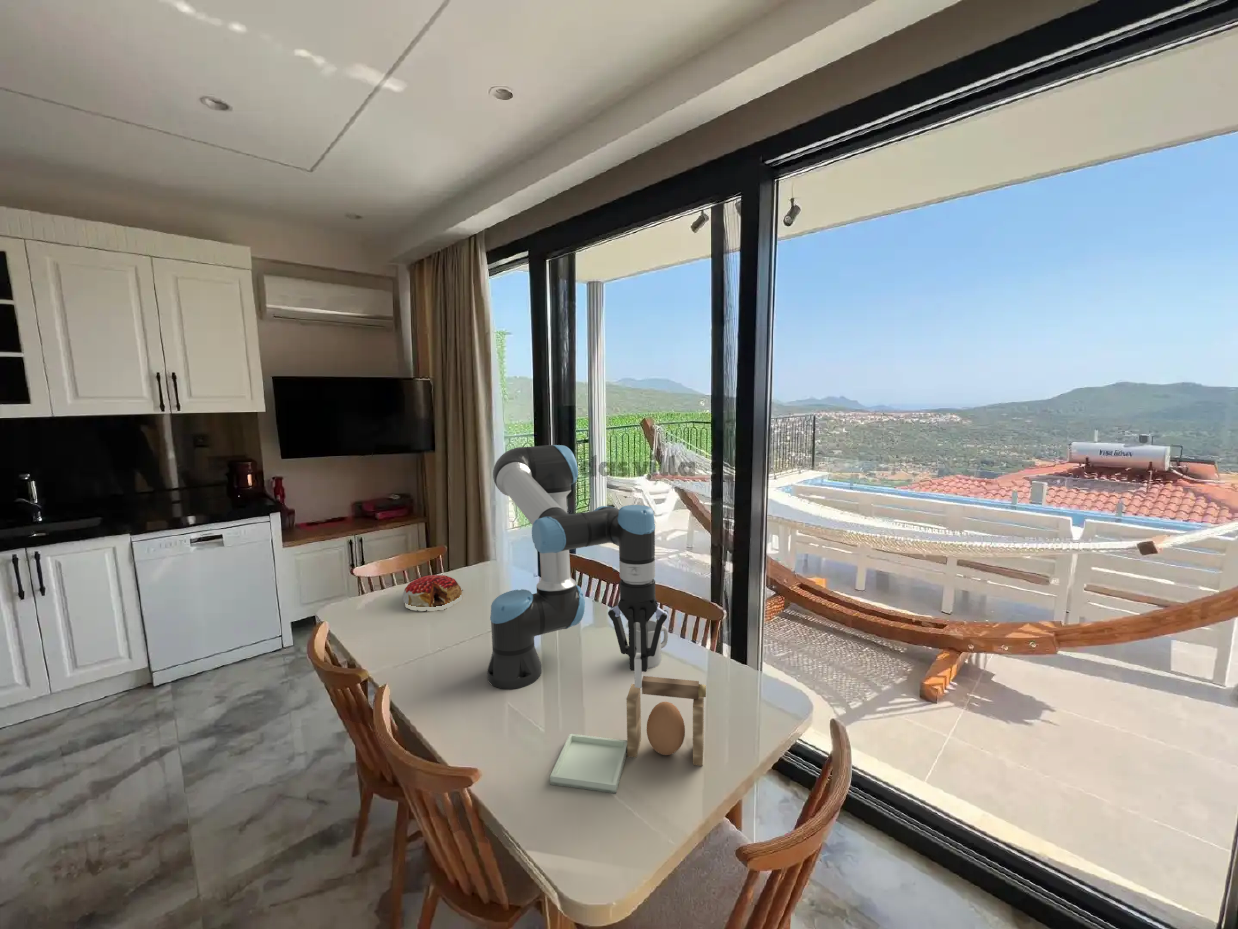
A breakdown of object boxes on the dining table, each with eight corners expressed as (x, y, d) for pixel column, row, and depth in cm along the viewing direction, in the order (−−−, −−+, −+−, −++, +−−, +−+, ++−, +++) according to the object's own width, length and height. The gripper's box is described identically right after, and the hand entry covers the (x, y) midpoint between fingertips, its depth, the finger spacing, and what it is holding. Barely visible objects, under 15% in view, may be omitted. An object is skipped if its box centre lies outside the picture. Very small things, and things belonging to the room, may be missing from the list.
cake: (433, 619, 182) (432, 592, 181) (390, 607, 194) (388, 582, 193) (481, 598, 202) (479, 573, 201) (439, 587, 214) (437, 565, 213)
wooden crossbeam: (641, 694, 108) (641, 681, 108) (643, 688, 111) (643, 675, 110) (705, 700, 106) (705, 687, 105) (705, 694, 108) (706, 681, 108)
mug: (643, 672, 143) (642, 635, 142) (626, 659, 150) (626, 624, 149) (676, 659, 150) (676, 624, 149) (658, 648, 157) (658, 614, 156)
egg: (691, 760, 107) (691, 711, 106) (654, 769, 105) (654, 718, 104) (676, 736, 115) (675, 690, 114) (641, 743, 113) (641, 696, 112)
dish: (550, 784, 101) (550, 776, 101) (570, 741, 114) (570, 733, 114) (615, 793, 99) (615, 785, 98) (628, 748, 112) (628, 740, 111)
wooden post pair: (627, 756, 109) (626, 699, 107) (632, 738, 115) (631, 684, 113) (702, 766, 106) (702, 707, 104) (703, 747, 112) (703, 690, 110)
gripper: (603, 583, 104) (605, 691, 107) (665, 586, 102) (667, 697, 104) (611, 571, 112) (613, 672, 114) (670, 574, 109) (671, 678, 112)
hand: (639, 684), depth 109 cm, fingers closed
